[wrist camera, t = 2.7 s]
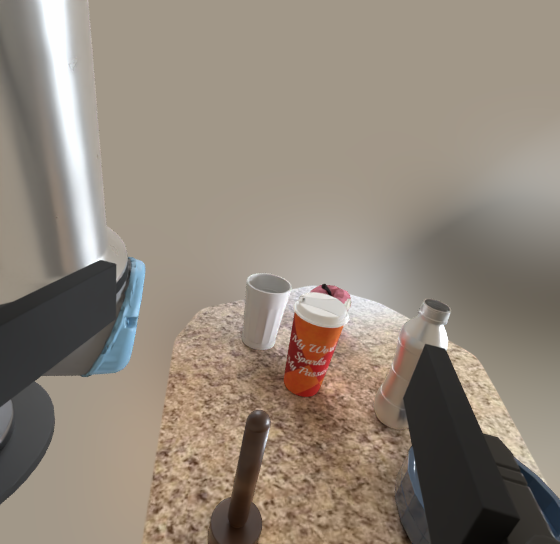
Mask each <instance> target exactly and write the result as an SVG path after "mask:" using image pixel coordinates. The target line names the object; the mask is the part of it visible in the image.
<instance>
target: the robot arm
mask: <svg viewBox="0 0 560 544" xmlns="http://www.w3.org/2000/svg"><path fill="white" fill-rule="evenodd" d="M144 278H145V264H144V263H143V262H142V261H140V260H136V259H134V258H133V257H128V255H127V250H126V246H125V244H124V242H123V240H122V239H121V238H120V236H119V235H118V234H116V233H115V232H114V231H113V230H112V229H110V228H109V227H107V226H106V214H105V202H104V189H103V177H102V165H101V153H100V141H99V128H98V116H97V104H96V92H95V78H94V67H93V54H92V42H91V29H90V17H89V6H88V0H0V451H1V450H2V449H3V447H4V446H5V445H6V443H7V441H8V440H9V438H10V436H11V433H12V431H13V428H14V422H15V419H14V410H13V404H12V401H11V399H12V398H13V397H14V396H16V395H17V394H18V393H20V392H21V391H22V390H24V389H25V388H26V387H28V386H29V385H30V384H31V383H33V382H34V381H35V380H37V379H38V378H39V377H40V376H70V375H71V376H73V375H75V376H76V375H80V376H82V377H88V376H91V375H92V374H107V373H116V372H118V371H120V370H122V369H123V368H124V367H125V366H126V365H127V364H128V362H129V360H130V357H131V353H132V349H133V344H134V339H135V333H136V327H137V319H138V314H139V310H140V304H141V299H142V292H143V285H144ZM403 401H404V406H405V411H406V416H407V421H408V426H409V432H410V437H411V442H412V447H413V452H414V457H415V462H416V468H417V473H418V478H419V483H420V488H421V493H422V498H423V503H424V509H425V514H426V519H427V524H428V529H429V534H430V539H431V544H560V542H559V541H558V540H556V538H555V536H554V534H553V533H552V531H551V529H550V527H549V525H548V523H547V521H546V519H545V517H544V515H543V513H542V511H541V509H540V507H539V505H538V503H537V501H536V499H535V497H534V495H533V493H532V491H531V489H530V487H528V486H527V484H528V483H527V481H526V479H525V477H524V475H523V473H521V472H520V471H521V469H520V468H519V466H518V464H517V462H516V460H515V458H514V456H513V454H512V453H511V451H510V450H509V449H508V448H507V447H506V446H505V445H504V444H503V442H502V441H501V440H500V439H499V438H498V437H494V436H491V435H487V434H484V433H482V431H481V428H480V426H479V424H478V422H477V419H476V417H475V415H474V413H473V410H472V408H471V406H470V404H469V401H468V399H467V397H466V394H465V392H464V390H463V388H462V385H461V383H460V381H459V379H458V376H457V374H456V372H455V370H454V367H453V365H452V363H451V360H450V358H449V356H448V354H447V351H446V349H444V348H441V347H437V346H433V345H429V344H425V346H424V348H423V350H422V353H421V355H420V358H419V360H418V363H417V365H416V368H415V370H414V372H413V375H412V377H411V380H410V382H409V385H408V387H407V390H406V392H405V394H404V397H403Z"/></svg>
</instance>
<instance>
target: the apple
mask: <svg viewBox="0 0 560 544" xmlns="http://www.w3.org/2000/svg"><path fill="white" fill-rule="evenodd" d="M311 292H316V293H323V294H327V295H330V296H332V297H335V298H337V299H338V300H339V301H341V302H342V303H343V304H344V305H345V307H346V309H347V311H348V310H349V308H350V306H351V298H350V295H349V294H348V292H347V291H345V290H342V289H340V288H338V287H336V286H330V285H326V284H323V285H320V286H318V287H316V288H314V289H313V290H312V291H311Z"/></svg>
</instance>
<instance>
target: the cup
mask: <svg viewBox="0 0 560 544" xmlns="http://www.w3.org/2000/svg"><path fill="white" fill-rule="evenodd" d="M246 285H247V286H246V299H245V311H244V323H243V333H242V341H243V343H244V344H245V345H247V346H248V347H250V348H253V349H257V350H266V349H270V348H271V347H273V346H274V344H275V340H276V336H277V332H278V329H279V326H280V323H281V319H282V316H283V313H284V310H285V307H286V304H287V301H288V298H289V295H290V292H291V289H292V286H291V284H290V283H289V282H288V281H287V280H286V279H284V278H282V277H280V276H277V275H273V274H267V273H257V274H252V275H250V276H249V277H248V278H247V284H246Z"/></svg>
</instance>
